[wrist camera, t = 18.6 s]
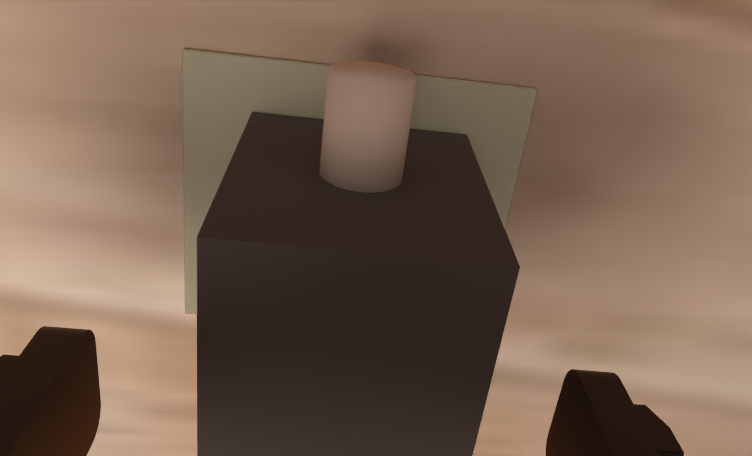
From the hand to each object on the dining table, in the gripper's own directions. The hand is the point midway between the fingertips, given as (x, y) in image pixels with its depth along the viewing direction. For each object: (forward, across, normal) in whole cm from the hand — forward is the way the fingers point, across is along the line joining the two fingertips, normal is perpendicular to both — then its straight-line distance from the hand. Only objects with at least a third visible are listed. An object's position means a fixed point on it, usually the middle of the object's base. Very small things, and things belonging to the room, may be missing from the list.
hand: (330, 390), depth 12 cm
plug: (+6, 0, +8) cm, 10 cm away
